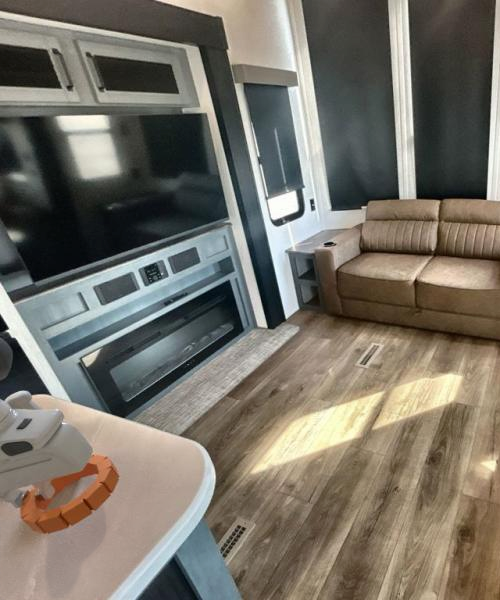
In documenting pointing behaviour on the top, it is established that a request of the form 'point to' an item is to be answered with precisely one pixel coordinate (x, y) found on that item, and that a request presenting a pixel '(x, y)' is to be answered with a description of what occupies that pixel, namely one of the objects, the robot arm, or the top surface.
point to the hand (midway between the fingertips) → (37, 499)
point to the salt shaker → (22, 401)
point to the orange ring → (76, 508)
